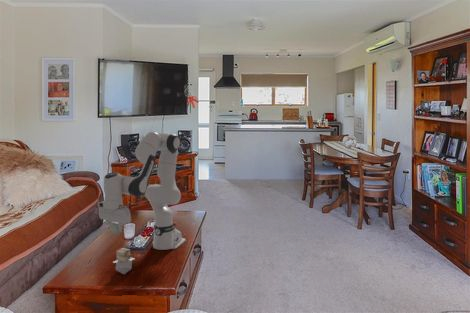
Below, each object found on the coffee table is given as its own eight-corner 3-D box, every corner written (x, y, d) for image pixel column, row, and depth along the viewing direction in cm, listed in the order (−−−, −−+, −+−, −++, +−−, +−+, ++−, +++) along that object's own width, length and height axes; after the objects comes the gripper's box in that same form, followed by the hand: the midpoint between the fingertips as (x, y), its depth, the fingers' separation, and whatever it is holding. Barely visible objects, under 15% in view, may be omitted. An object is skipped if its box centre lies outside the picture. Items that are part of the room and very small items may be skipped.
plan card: (125, 256, 228) (125, 255, 228) (135, 259, 225) (135, 258, 225) (112, 262, 220) (112, 261, 220) (122, 265, 216) (122, 264, 216)
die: (135, 274, 207) (135, 256, 211) (124, 272, 200) (124, 253, 204) (123, 277, 210) (123, 259, 214) (112, 275, 202) (112, 257, 207)
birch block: (123, 256, 209) (122, 247, 209) (130, 258, 207) (130, 249, 206) (116, 259, 205) (116, 251, 204) (123, 261, 203) (123, 252, 202)
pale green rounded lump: (113, 230, 206) (112, 221, 205) (121, 230, 206) (121, 221, 205) (109, 233, 201) (108, 224, 201) (118, 233, 201) (117, 224, 200)
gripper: (133, 204, 199) (134, 230, 201) (105, 200, 209) (106, 224, 211) (124, 208, 193) (125, 234, 196) (95, 203, 203) (97, 228, 206)
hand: (115, 229), depth 203 cm, fingers closed on pale green rounded lump, 5 cm apart
